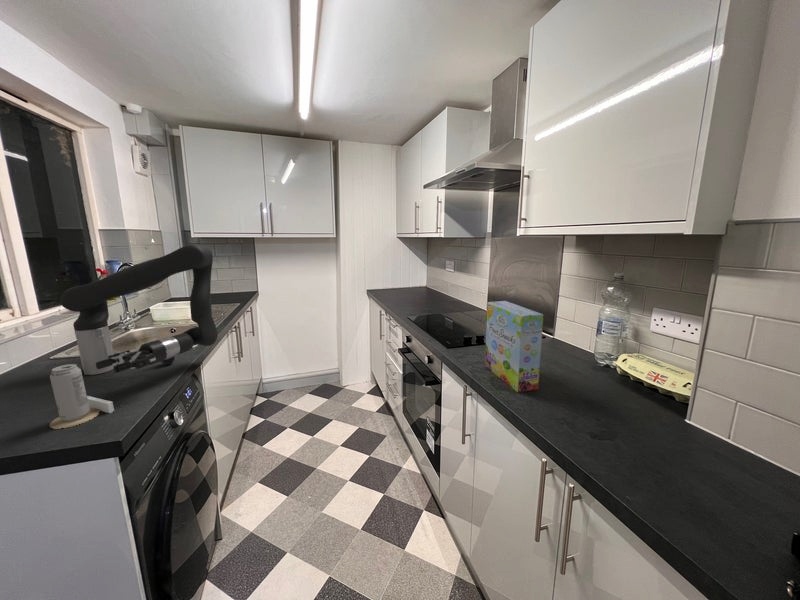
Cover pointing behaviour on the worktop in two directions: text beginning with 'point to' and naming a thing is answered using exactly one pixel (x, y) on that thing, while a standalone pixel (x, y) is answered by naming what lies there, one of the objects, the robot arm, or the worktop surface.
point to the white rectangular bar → (100, 404)
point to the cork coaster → (61, 424)
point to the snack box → (514, 344)
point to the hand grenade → (168, 361)
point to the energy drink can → (69, 392)
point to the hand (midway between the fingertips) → (105, 367)
